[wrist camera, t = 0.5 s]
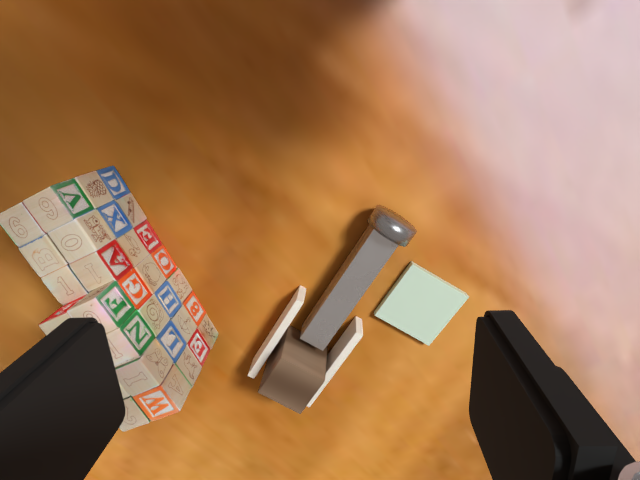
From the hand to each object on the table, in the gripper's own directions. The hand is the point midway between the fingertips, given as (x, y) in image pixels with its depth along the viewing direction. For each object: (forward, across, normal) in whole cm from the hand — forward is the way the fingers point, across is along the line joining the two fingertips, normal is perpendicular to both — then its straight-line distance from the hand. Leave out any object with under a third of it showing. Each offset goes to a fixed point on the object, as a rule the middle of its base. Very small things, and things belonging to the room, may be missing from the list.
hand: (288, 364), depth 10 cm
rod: (+31, -1, +12) cm, 33 cm away
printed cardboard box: (+31, +20, +10) cm, 39 cm away
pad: (+31, -9, +15) cm, 35 cm away
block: (+31, +5, +21) cm, 38 cm away
